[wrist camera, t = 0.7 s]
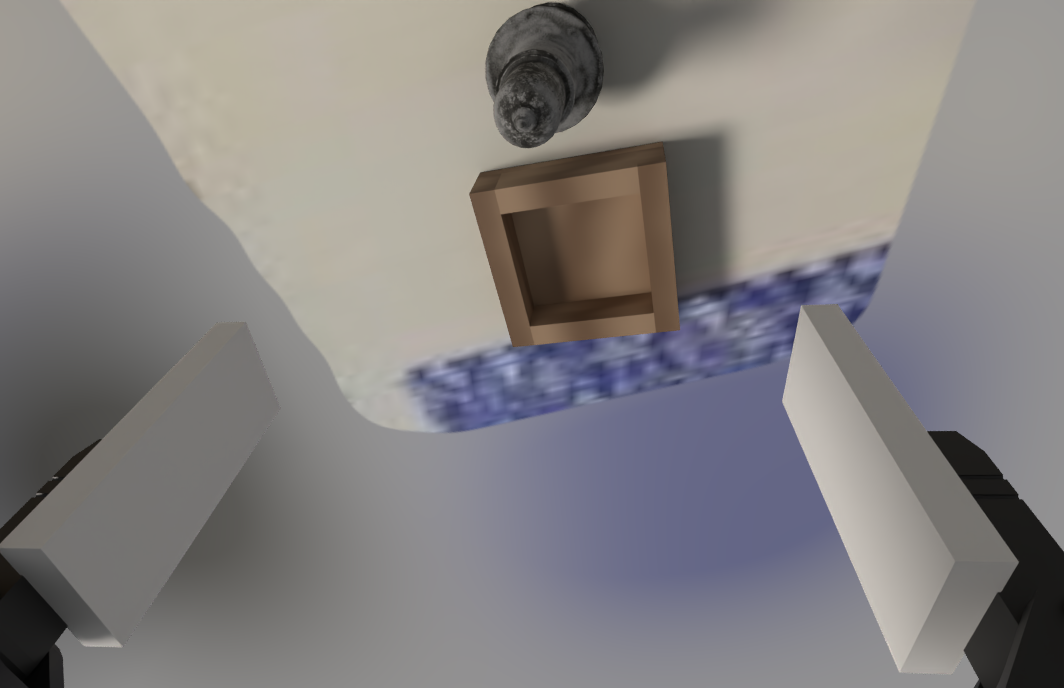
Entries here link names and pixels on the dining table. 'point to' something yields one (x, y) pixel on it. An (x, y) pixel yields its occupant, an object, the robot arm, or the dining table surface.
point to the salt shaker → (543, 73)
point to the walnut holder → (581, 245)
